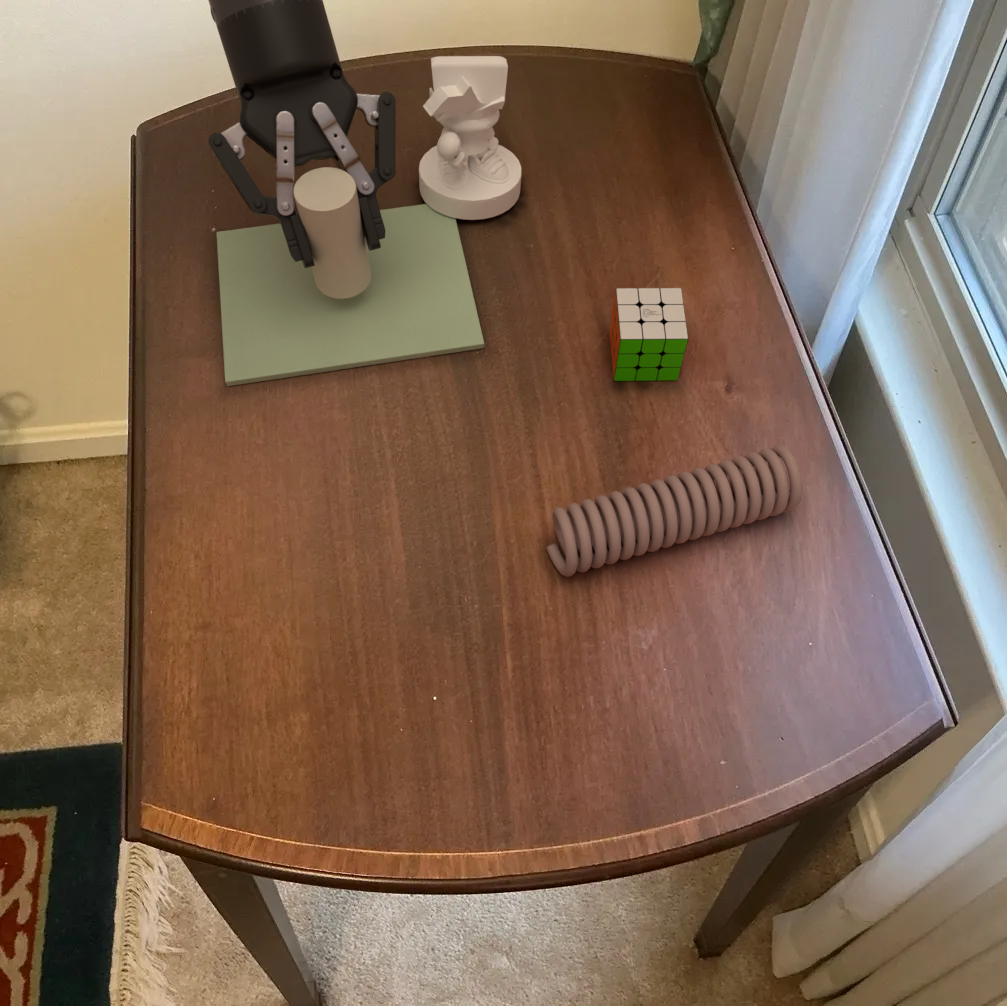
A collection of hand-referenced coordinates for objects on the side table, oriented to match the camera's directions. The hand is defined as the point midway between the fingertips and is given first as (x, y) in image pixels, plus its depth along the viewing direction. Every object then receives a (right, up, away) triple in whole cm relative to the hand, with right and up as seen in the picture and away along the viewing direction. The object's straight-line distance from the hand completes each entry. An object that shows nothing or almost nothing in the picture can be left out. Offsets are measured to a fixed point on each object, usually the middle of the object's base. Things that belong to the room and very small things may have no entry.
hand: (342, 256), depth 71 cm
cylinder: (-1, -1, +4) cm, 4 cm away
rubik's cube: (+23, -7, +4) cm, 24 cm away
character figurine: (+9, +9, +13) cm, 18 cm away
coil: (+24, -20, -4) cm, 31 cm away
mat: (-1, -1, +7) cm, 7 cm away
